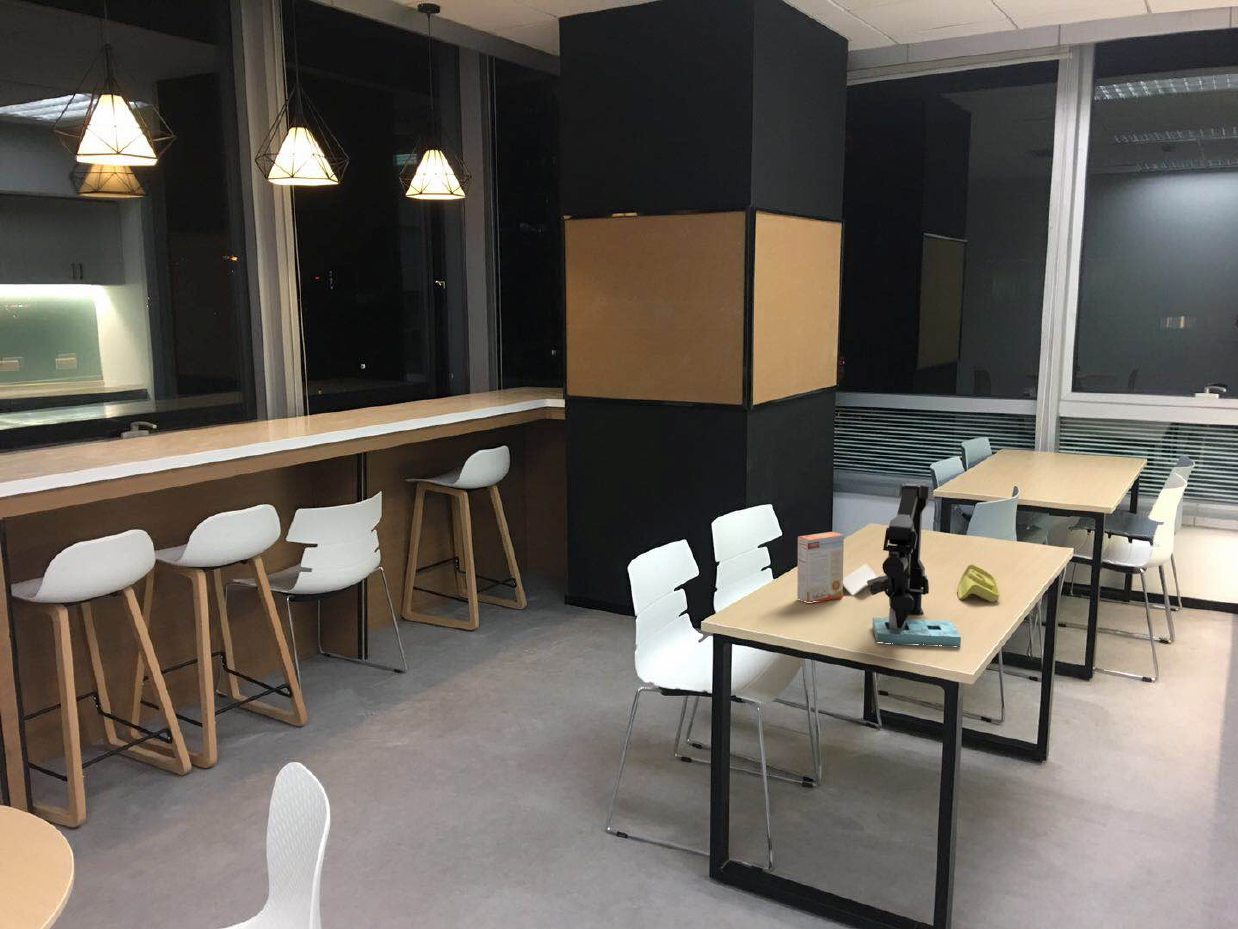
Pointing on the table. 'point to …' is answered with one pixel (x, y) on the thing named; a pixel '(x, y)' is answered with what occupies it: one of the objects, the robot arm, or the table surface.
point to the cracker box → (820, 567)
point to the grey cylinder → (894, 621)
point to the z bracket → (859, 579)
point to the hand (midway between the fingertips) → (897, 622)
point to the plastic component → (978, 584)
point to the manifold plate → (918, 632)
